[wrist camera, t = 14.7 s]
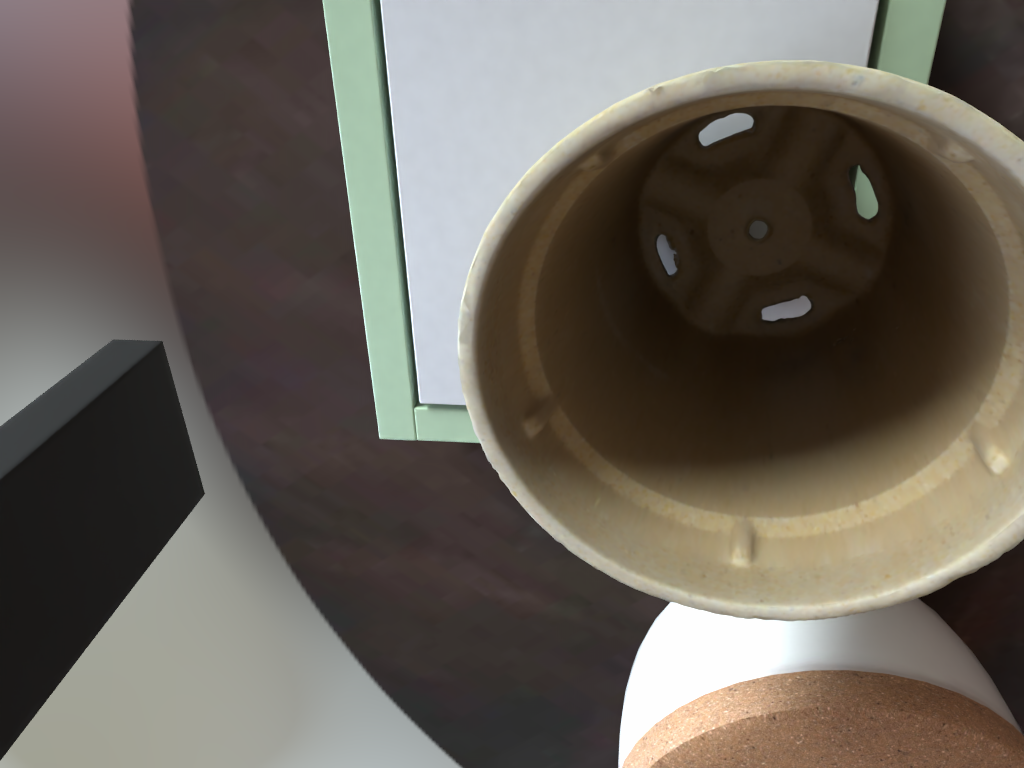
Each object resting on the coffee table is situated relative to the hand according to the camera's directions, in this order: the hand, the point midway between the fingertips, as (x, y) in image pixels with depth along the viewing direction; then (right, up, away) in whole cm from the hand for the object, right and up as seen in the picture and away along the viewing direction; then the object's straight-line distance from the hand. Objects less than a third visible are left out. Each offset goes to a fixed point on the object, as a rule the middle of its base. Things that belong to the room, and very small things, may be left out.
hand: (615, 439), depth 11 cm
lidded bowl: (+9, -8, +20) cm, 23 cm away
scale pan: (+1, +6, +10) cm, 12 cm away
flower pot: (+5, +5, +8) cm, 11 cm away
